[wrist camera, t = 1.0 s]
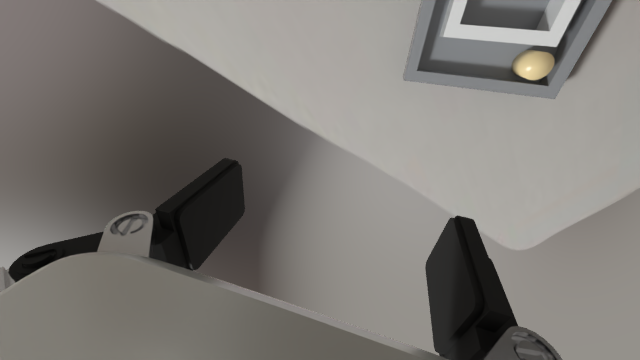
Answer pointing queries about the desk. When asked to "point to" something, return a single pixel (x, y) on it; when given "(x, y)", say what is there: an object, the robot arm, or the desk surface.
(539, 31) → the housing
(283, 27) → the desk surface
